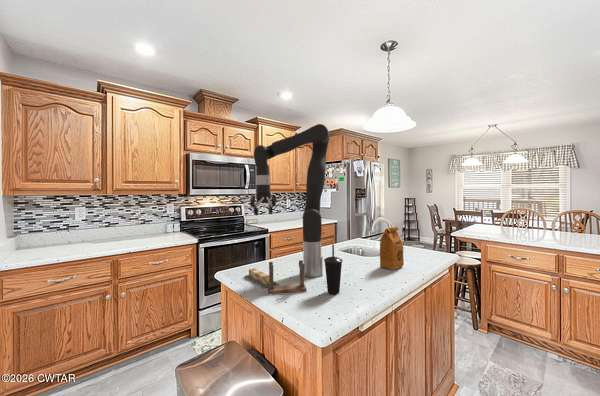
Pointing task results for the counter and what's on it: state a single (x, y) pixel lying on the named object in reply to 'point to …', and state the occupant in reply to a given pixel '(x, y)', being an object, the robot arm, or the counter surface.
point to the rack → (287, 288)
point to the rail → (259, 276)
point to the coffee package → (391, 249)
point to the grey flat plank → (260, 282)
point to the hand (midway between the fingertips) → (263, 214)
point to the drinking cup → (333, 273)
